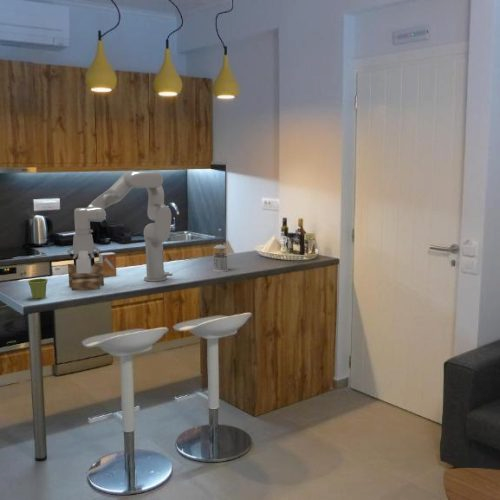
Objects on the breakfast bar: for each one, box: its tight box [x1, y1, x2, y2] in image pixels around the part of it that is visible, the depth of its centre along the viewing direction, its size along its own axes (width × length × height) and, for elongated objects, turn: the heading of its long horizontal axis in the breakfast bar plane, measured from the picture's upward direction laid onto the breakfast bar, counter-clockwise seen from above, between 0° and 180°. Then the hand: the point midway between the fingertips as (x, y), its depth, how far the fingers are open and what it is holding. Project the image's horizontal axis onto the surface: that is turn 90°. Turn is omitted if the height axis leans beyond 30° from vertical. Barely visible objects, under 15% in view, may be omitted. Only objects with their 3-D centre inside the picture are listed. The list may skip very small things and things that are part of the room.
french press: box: [212, 228, 229, 272], centre depth 369 cm, size 10×12×25 cm
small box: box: [98, 251, 117, 278], centre depth 357 cm, size 8×6×13 cm
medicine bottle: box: [76, 250, 93, 274], centre depth 320 cm, size 7×7×12 cm
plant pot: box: [27, 278, 49, 300], centre depth 306 cm, size 9×9×9 cm
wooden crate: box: [67, 262, 105, 291], centre depth 327 cm, size 18×10×12 cm, turn 102°
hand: (84, 265), depth 321 cm, fingers closed on medicine bottle, 7 cm apart
